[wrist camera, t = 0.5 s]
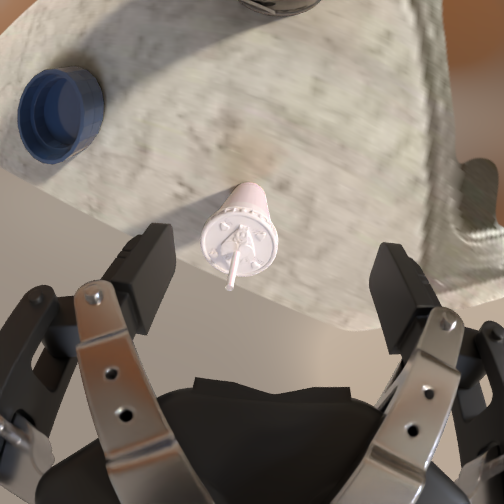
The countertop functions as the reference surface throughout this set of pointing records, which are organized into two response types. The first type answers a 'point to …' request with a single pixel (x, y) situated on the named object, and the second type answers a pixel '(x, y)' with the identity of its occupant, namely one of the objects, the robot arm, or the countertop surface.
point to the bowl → (60, 113)
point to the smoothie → (240, 234)
